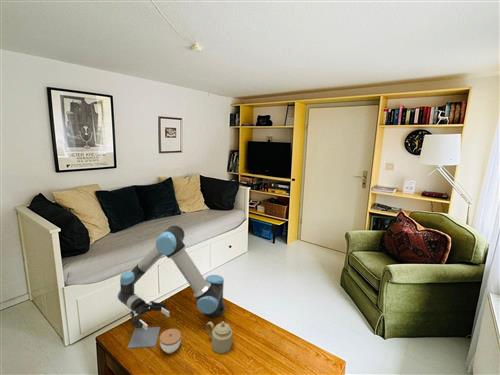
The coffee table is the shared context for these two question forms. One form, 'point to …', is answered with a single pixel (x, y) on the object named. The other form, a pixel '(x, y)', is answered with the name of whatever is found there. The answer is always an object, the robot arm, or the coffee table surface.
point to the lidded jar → (170, 340)
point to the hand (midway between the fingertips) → (158, 321)
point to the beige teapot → (220, 337)
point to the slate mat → (144, 337)
